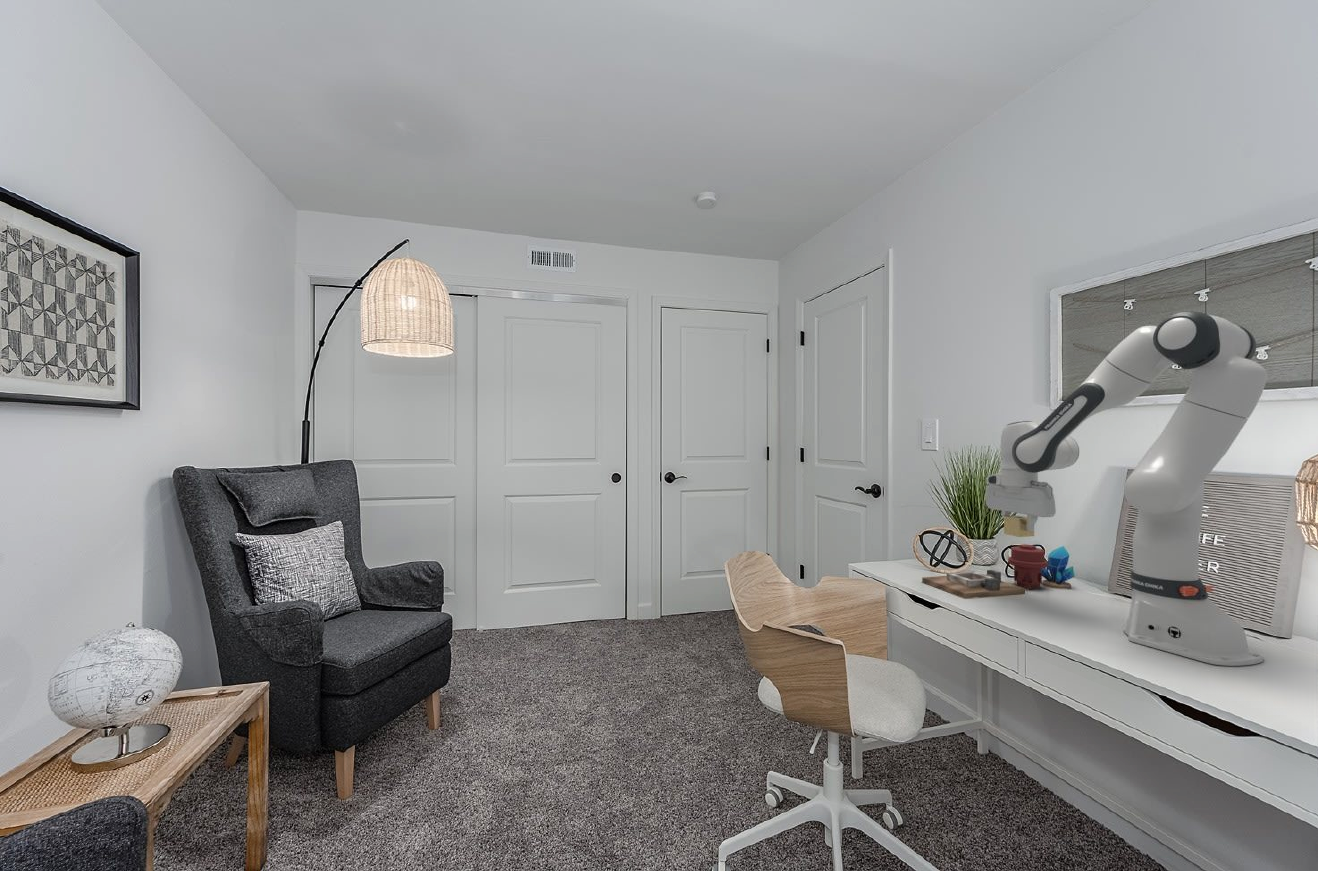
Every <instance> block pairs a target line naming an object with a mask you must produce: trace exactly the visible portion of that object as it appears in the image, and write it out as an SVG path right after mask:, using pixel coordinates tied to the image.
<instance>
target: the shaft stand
mask: <svg viewBox="0 0 1318 871" xmlns="http://www.w3.org/2000/svg"><path fill="white" fill-rule="evenodd" d="M921 582H922V583H923V584H926V585H929V586H931V587H934V588H936V589H939V590H941V589H942V590H941V591H944V592H947V593H950V594H952V595H955V596H958V597H960V598H963V599H965V598H967V599H974V598H973V597H979V598H987V597H1000V596H1001V597H1002V596H1014V595H1015V596H1016V595H1025V594H1026V589H1025V588H1024V587H1023V586H1020V585H1017V584H1016V585H1015V584H1013V583H1009V582H1005V581H1002V572H1001V571H998V570H993V569H987V570H986V574H983V573H980V572H976V571H962V572H946V575H939V576H925V577H924V576H923V577H921Z"/></svg>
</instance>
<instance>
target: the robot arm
mask: <svg viewBox="0 0 1318 871" xmlns="http://www.w3.org/2000/svg"><path fill="white" fill-rule="evenodd" d="M1256 352H1257V342H1256V339H1255V337H1254V335H1253V334H1252V333H1251V332H1250V331H1249V330H1247V329H1246V328H1245V327H1243V326H1241V325H1238V324H1235V323H1233V322H1231V321H1229V320H1228V319H1226V318H1223V317H1220V316H1217V315H1212V314H1208V313H1204V312H1201V311H1181V312H1178V313H1174V314H1172V315H1170V316H1167V317H1166V318H1164V319H1163V320H1162V321H1161V322H1160V323H1159V324H1158V325H1143V326H1140V327H1138V328H1137V329H1135V330H1134V331H1132V332H1131V333H1130V334H1129V335H1128V336H1126V337H1125V338H1123V340H1122V341H1121V342H1119V343H1118V344H1117V345H1116V346H1115V347H1114V348H1112V350H1111V351H1110V352H1109V353H1108V355H1107V356H1105V358H1104V359H1103V360H1101V362H1100V363H1099V364H1098V366H1096V368H1095V369H1094V370H1093V371H1092V372H1091V373H1090V375H1089V376H1088V377H1087V378H1086V379H1085V380H1084V381H1083V382H1082V383H1081V384H1080V385H1078V387H1077V388H1076V389H1075V390H1073V392H1072V393H1071V394H1070V395H1068V396H1067V397H1066V399H1065V398H1064V399H1065V400H1063V401H1062V402H1061V403H1060V404H1059V405H1058V406H1057V407H1056V408H1055V409H1054V410H1053V411H1052V412H1051V413H1050V414H1049V415H1048V416H1047V417H1046V418H1045V419H1044V420H1043V421H1042V422H1041V423H1040V424H1037V423H1036V422H1035V421H1032V420H1023V421H1016V422H1010V423H1008V424H1006V425H1004V427H1003V428H1002V430H1001V436H1000V451H999V452H1000V457H1001V465H1000V472H997V473H994V474H992V475H987V476H986V478H985V482H986V483H987V486H986V489H985V505H986V506H987V509H990V510H997V511H1001V516H1002V519H1004V516H1012V513H1016V514H1019V515H1020V514H1021V515H1026V517H1027V519H1029V520H1028V522H1027V524H1024V530H1025V531H1029V532H1031V531H1034V532H1035V524H1036V523H1037V521H1038V518H1039V517H1040V518H1053V517H1055V515H1056V511H1057V509H1056V500H1055V495H1054V489H1053V487H1052V486H1051V485H1050V484H1049V483H1048V482H1047V481H1039V473H1041V472H1045V471H1055V470H1062V469H1066V468H1068V467H1071V466H1073V465H1074V464H1076V462H1077V461H1078V459H1079V458H1080V457H1079V456H1080V448H1079V447H1080V446H1079V445H1078V442H1077V441H1076V439H1074V438H1073V437H1072V436H1070V435H1071V434H1073V432H1075V430H1077V428H1079V426H1081V425H1082V423H1084V422H1085V421H1086V420H1087V419H1089V418H1090V417H1093V416H1094V415H1096V414H1099V413H1101V412H1105V411H1106V410H1110V409H1114V408H1117V407H1121V406H1125V405H1128V404H1129V403H1131V402H1132V401H1134V400H1135V399H1136V398H1138V397H1139V396H1141V395H1142V394H1143V393H1144V392H1145V391H1146V390H1147V389H1148V388H1149V387H1150V386H1151V385H1152V384H1153V383H1154V382H1155V381H1157V379H1158V378H1159V377H1160V376H1161V375H1162V374H1163V372H1165V371H1166V370H1167V369H1168V368H1170V367H1173V366H1175V365H1177V366H1178V367H1180V368H1182V370H1190V371H1191V372H1192V381H1191V384H1190V386H1189V388H1188V389H1187V391H1186V393H1185V394H1184V396H1183V397H1182V399H1181V401H1180V403H1179V405H1178V406H1177V408H1176V409H1175V411H1174V412H1173V413H1172V416H1171V417H1170V419H1169V420H1168V422H1167V423H1166V425H1165V427H1164V429H1163V430H1162V432H1161V434H1160V435H1159V436H1158V437H1157V438H1156V440H1155V441H1154V442H1153V444H1152V445H1151V446H1150V448H1148V450H1147V451H1146V453H1145V454H1144V456H1142V458H1141V459H1140V461H1138V463H1137V465H1136V466H1135V468H1134V469H1133V470H1132V472H1131V473H1130V475H1129V476H1128V477H1127V479H1126V481H1125V482H1124V485H1123V493H1124V494H1123V495H1124V497H1125V500H1127V502H1128V503H1129V505H1130V506H1131V507H1133V508H1134V509H1136V510H1138V511H1137V519H1136V524H1135V529H1134V532H1133V535H1132V570H1131V571H1130V582H1129V583H1130V584H1129V586H1130V589H1131V603H1130V608H1129V613H1128V618H1127V620H1126V625H1125V627H1124V629H1123V632H1124V634H1126V635H1127V636H1128V641H1130V642H1132V643H1136V644H1138V645H1143V646H1147V647H1151V648H1153V649H1156V650H1160V651H1164V652H1166V653H1167V652H1168V653H1172V654H1175V655H1178V656H1181V657H1186V658H1187V659H1188V658H1189V659H1192V660H1197V661H1200V662H1204V663H1207V664H1209V665H1210V664H1211V665H1216V666H1230V667H1231V666H1232V667H1233V666H1234V667H1236V666H1237V667H1238V666H1240V667H1241V666H1249V665H1256V664H1260V663H1263V662H1264V660H1265V659H1264V654H1263V653H1261V652H1258V651H1256V650H1254V649H1250V648H1249V646H1248V639H1247V636H1246V632H1245V629H1244V627H1243V626H1242V624H1241V623H1240V622H1238V621H1236V620H1235V618H1233V617H1231V616H1230V615H1229V614H1227V612H1225V611H1224V610H1223V609H1221V607H1219V605H1217V604H1215V603H1214V602H1213V601H1212V600H1211V599H1209V593H1208V592H1214V590H1213V589H1212V588H1214V585H1205V584H1204V583H1203V581H1202V579H1201V578H1200V577H1199V576H1200V575H1199V574H1200V571H1199V570H1200V566H1199V565H1200V563H1199V560H1200V559H1199V558H1200V557H1199V553H1200V552H1199V550H1200V548H1199V545H1200V535H1201V528H1202V521H1203V520H1202V519H1203V511H1204V497H1205V484H1204V482H1205V480H1206V479H1207V478H1208V476H1209V475H1210V473H1211V472H1212V471H1213V470H1214V468H1215V467H1216V466H1217V464H1219V462H1220V461H1221V460H1222V458H1223V457H1224V456H1225V455H1226V454H1227V453H1228V451H1229V450H1230V448H1231V447H1232V445H1233V443H1234V442H1235V440H1236V438H1237V437H1238V436H1239V434H1240V433H1241V431H1242V429H1243V428H1244V426H1245V425H1246V423H1247V422H1248V420H1249V419H1250V417H1251V415H1252V414H1253V412H1254V410H1255V409H1256V407H1257V405H1258V403H1259V401H1260V400H1261V396H1262V394H1263V392H1264V389H1265V387H1266V384H1267V380H1268V372H1267V371H1266V369H1265V368H1264V367H1263V365H1261V364H1260V363H1258V362H1256V361H1255V360H1252V359H1253V357H1254V356H1255V354H1256Z"/></svg>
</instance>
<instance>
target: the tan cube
mask: <svg viewBox="0 0 1318 871" xmlns="http://www.w3.org/2000/svg"><path fill="white" fill-rule="evenodd" d="M1028 520H1029V519H1027V516H1024V515H1010V516H1004V518H1003V524H1004V525H1003V531H1004V532H1003V534H1004V535H1008V536H1014V537H1016V538H1017V537H1018V538H1022V537H1023V538H1024V537H1028V538H1029V537H1035V530H1034V531H1031V532H1029V531H1025V530H1024V524H1027V522H1028Z"/></svg>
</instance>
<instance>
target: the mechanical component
mask: <svg viewBox="0 0 1318 871" xmlns="http://www.w3.org/2000/svg"><path fill="white" fill-rule="evenodd" d="M1010 553H1011V554H1010V555H1011V556H1008V558H1007V560H1008V561H1007V562H1008V564H1009V565H1012V566H1013V580H1014V582H1016V586H1019V587H1022V588H1025V590H1031V589H1036V588H1037V589H1038V588H1040V587H1041V584H1042V581H1043V576H1042V568H1046V569H1047V568H1048V560H1046V559H1045V550H1044V549H1042V548H1039V547H1037V546H1036V545H1033V544H1026V543H1023V544H1020V545H1019V546H1012V547H1011V552H1010Z"/></svg>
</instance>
